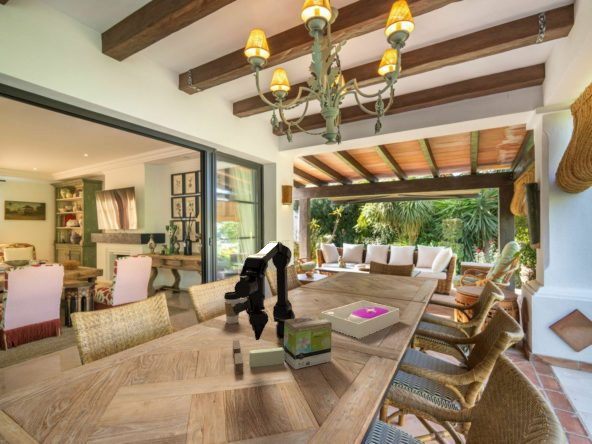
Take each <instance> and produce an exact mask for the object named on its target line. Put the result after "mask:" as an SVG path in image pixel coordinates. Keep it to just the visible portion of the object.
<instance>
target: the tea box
mask: <svg viewBox="0 0 592 444" xmlns="http://www.w3.org/2000/svg"><path fill="white" fill-rule="evenodd" d="M332 331H333V330H332V323H331V322H330V321H328V320H326V319H324V318H322V317H321V315H318V314H317V315H311V316H303V317H295V319H289V320H285V324H284V338H283V350H284V361H286V362H287V363H288V365H290V366H291V368H292V369H294V370H295V371H296V370H298V369H302V368H303V369H304V368H307V367H311V366H316V365H320V364H324V363H325V362H326V363H330V362H331V361H332V360H331V358H332ZM329 361H330V362H329Z"/></svg>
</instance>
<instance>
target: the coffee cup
mask: <svg viewBox="0 0 592 444" xmlns="http://www.w3.org/2000/svg"><path fill="white" fill-rule="evenodd" d="M223 298H224V306H225V307H224V308H225V318H226V323H227V324H230V325H232V324H237V323H239V319H240V317H239V315H240V313H239V314H237V315H235V314H234V312H233V309H232V306H231V304H232V303H233V302H236V301H238V300H241V298H240V297H238V296H237V295H236V293H235V291H227V292H224V297H223Z"/></svg>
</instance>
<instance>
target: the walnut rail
mask: <svg viewBox="0 0 592 444" xmlns="http://www.w3.org/2000/svg"><path fill="white" fill-rule="evenodd" d="M241 351H242V350H241V343H240V339H239V340H232V353H233V359H234V360H233V362H234V363H233V364H234V365H233V366H234V372H235V375H241V374H244V360H243V354H242V353H243V352H241Z"/></svg>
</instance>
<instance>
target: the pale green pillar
mask: <svg viewBox="0 0 592 444" xmlns="http://www.w3.org/2000/svg"><path fill="white" fill-rule="evenodd" d="M284 363H285V359H284V347H272V348H263V349H252V350H249V368H257V367H265V366H273V365H283V364H284Z"/></svg>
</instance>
